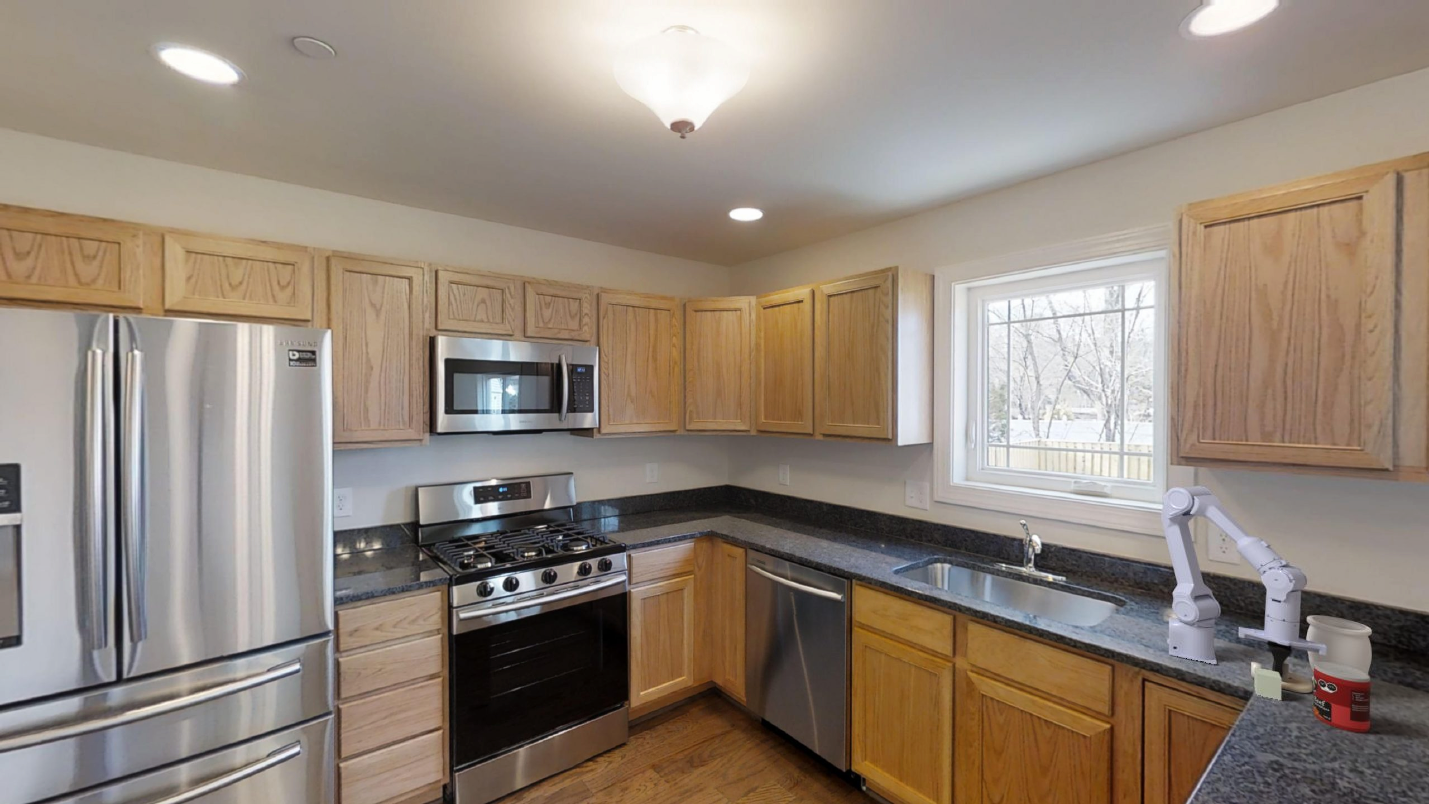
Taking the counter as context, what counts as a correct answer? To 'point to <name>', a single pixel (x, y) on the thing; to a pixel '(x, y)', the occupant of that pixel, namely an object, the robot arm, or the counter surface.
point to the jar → (1340, 642)
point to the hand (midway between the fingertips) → (1279, 675)
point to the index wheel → (1294, 681)
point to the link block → (1267, 683)
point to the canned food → (1341, 696)
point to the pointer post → (1253, 665)
